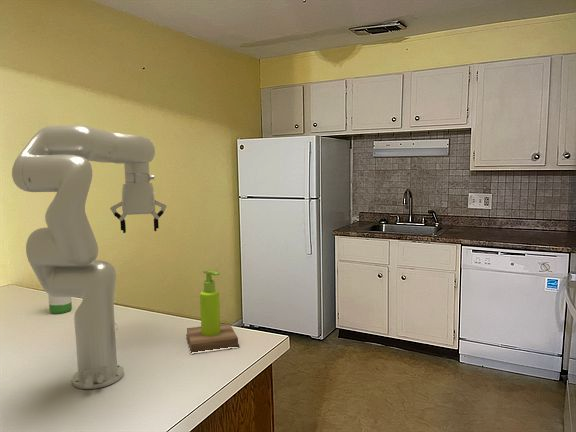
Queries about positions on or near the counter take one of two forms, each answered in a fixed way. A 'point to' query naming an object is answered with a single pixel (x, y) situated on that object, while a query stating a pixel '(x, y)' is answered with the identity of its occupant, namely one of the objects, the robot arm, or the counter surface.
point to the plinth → (211, 339)
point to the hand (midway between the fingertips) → (140, 231)
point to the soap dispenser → (210, 306)
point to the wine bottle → (59, 304)
